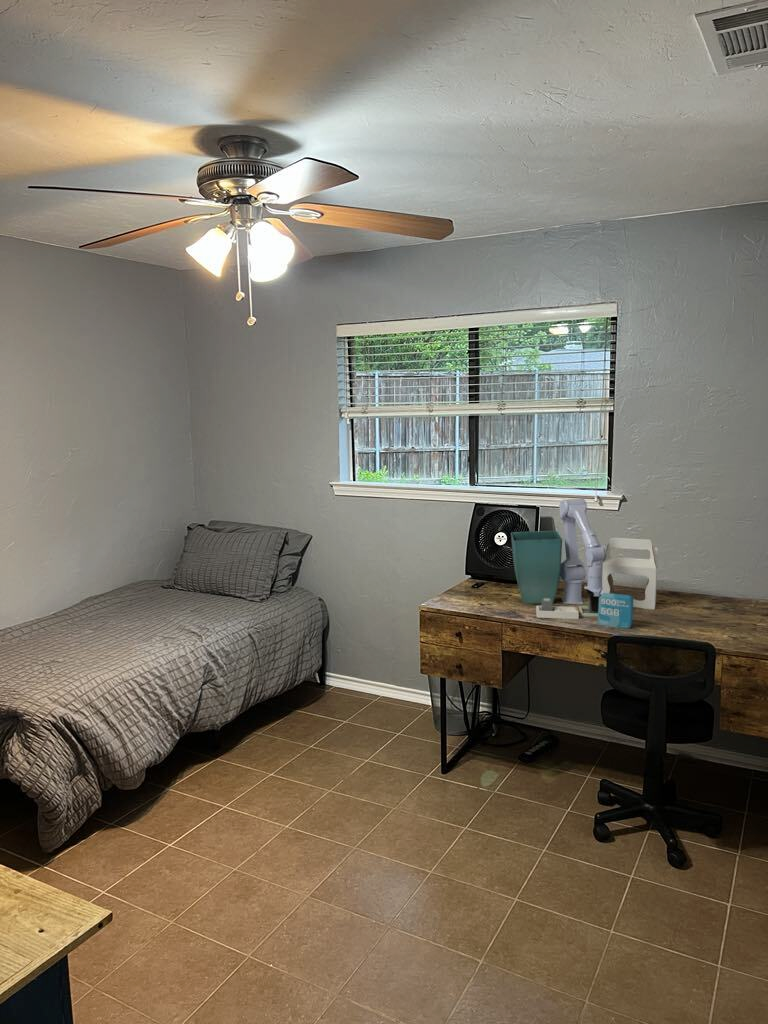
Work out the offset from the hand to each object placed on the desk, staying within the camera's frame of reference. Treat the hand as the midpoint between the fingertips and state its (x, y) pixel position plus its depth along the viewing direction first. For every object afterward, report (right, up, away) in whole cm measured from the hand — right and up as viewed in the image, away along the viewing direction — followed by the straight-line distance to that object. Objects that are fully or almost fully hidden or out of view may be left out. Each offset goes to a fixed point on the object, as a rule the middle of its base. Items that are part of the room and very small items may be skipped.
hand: (593, 609), depth 304 cm
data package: (+3, -5, -16) cm, 17 cm away
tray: (0, -2, 0) cm, 2 cm away
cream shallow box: (-16, -2, -3) cm, 16 cm away
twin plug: (-20, -2, -3) cm, 20 cm away
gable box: (+18, 0, +14) cm, 23 cm away
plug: (0, -1, 0) cm, 1 cm away
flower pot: (-19, +1, +20) cm, 28 cm away
